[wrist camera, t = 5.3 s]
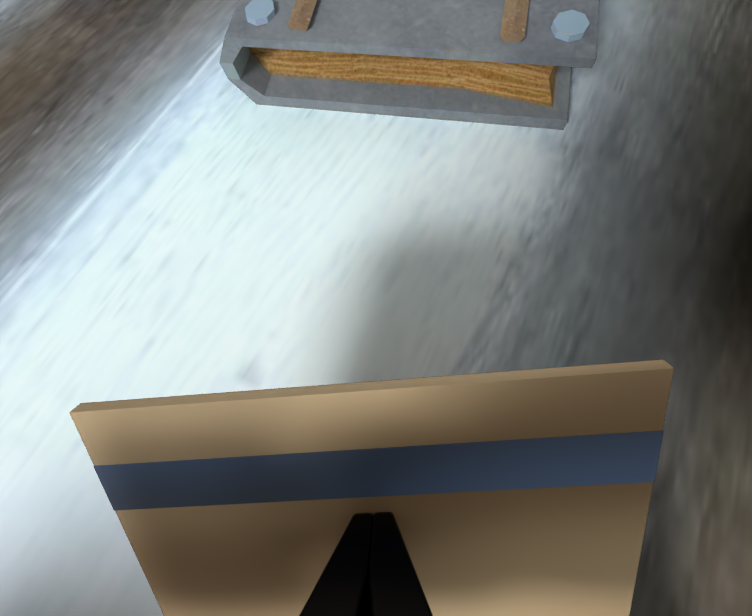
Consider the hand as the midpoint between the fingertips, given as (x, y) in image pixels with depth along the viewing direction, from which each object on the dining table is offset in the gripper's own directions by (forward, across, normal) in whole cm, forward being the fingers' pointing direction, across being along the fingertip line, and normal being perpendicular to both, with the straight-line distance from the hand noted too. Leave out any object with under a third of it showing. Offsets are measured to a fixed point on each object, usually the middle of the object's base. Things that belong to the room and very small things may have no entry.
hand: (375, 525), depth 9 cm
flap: (0, 0, 0) cm, 0 cm away
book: (+23, -4, -15) cm, 28 cm away
